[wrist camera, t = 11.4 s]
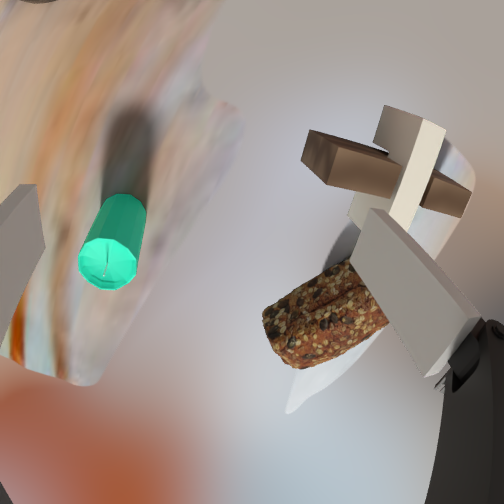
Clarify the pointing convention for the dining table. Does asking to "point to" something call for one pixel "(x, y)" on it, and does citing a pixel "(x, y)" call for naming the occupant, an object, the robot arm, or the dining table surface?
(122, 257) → the candle
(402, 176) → the cream bar
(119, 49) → the dining table surface
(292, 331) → the bread
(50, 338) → the dining table surface
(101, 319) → the dining table surface
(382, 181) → the walnut rail
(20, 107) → the dining table surface
